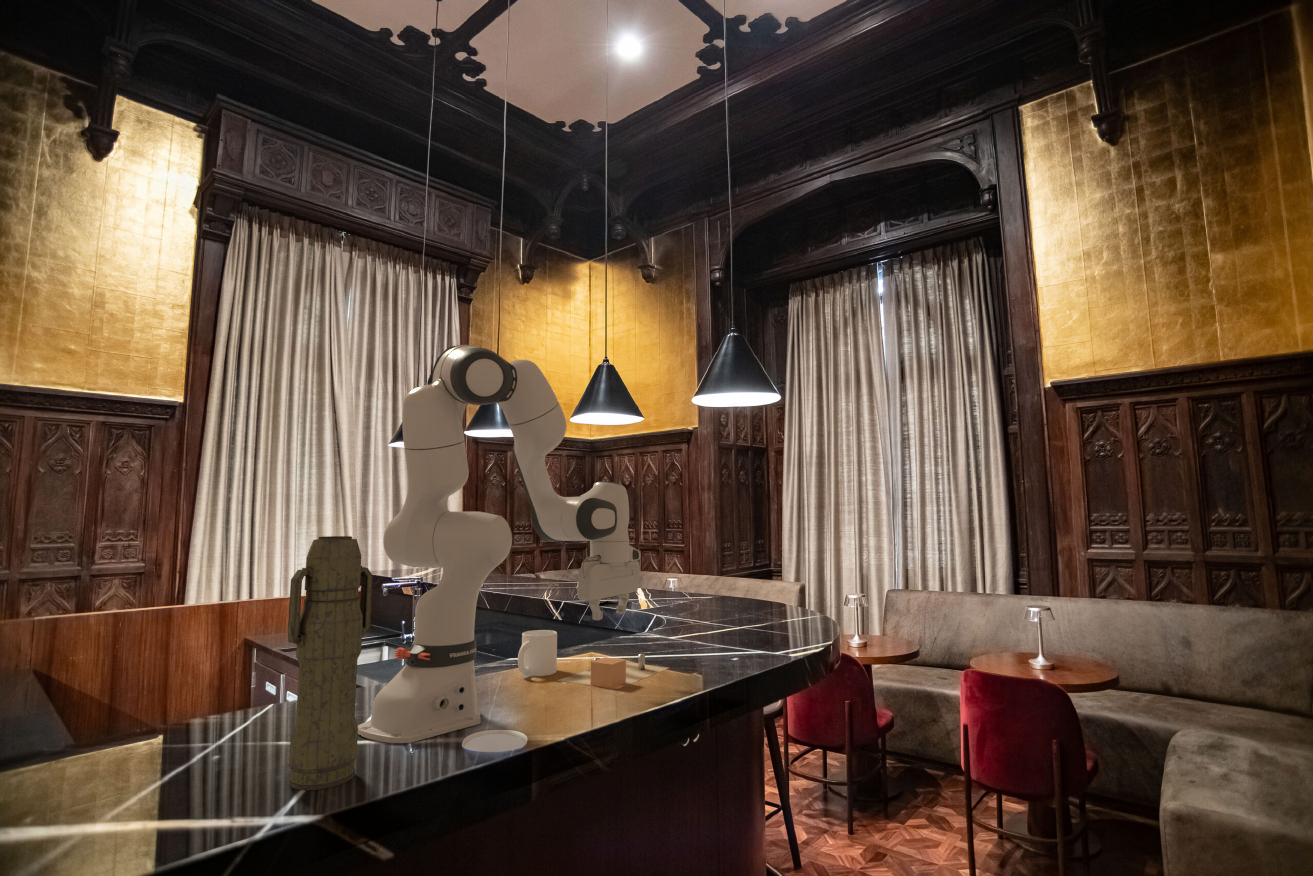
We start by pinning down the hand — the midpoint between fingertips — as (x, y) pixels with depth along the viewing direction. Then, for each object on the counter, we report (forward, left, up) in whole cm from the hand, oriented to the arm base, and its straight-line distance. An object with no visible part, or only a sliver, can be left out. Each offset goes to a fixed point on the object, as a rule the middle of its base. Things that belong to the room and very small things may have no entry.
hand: (609, 616), depth 151 cm
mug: (0, +21, -16) cm, 26 cm away
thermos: (-63, +8, -16) cm, 66 cm away
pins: (+11, +5, -15) cm, 19 cm away
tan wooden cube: (0, 0, -15) cm, 15 cm away
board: (+9, +4, -16) cm, 19 cm away
